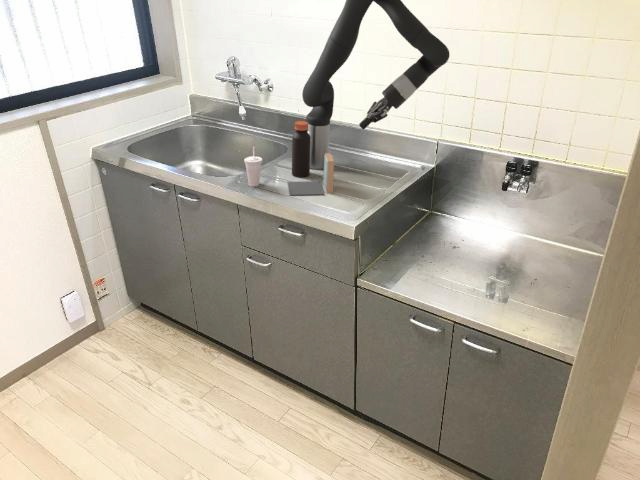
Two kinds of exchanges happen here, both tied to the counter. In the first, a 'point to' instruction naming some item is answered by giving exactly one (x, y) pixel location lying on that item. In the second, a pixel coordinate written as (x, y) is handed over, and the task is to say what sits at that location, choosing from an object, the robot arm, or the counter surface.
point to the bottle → (301, 150)
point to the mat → (305, 188)
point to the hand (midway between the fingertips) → (361, 127)
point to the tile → (328, 172)
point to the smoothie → (253, 169)
